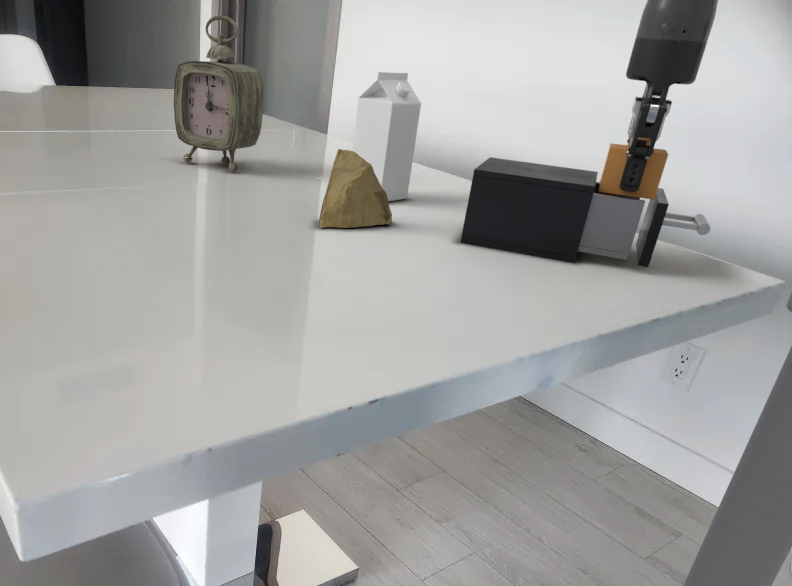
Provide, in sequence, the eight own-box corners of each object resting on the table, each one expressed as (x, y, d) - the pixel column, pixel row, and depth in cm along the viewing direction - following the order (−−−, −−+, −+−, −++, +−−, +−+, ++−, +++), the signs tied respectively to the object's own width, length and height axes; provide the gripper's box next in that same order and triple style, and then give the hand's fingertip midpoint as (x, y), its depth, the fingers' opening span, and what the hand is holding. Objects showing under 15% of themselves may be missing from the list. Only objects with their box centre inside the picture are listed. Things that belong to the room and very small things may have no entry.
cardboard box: (652, 193, 87) (666, 149, 84) (654, 199, 83) (668, 154, 80) (598, 186, 89) (610, 143, 86) (598, 191, 85) (610, 147, 82)
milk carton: (347, 194, 112) (360, 70, 104) (375, 190, 117) (390, 71, 108) (379, 203, 108) (396, 74, 99) (407, 199, 112) (425, 75, 104)
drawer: (689, 253, 91) (710, 195, 87) (697, 276, 81) (721, 211, 78) (543, 229, 97) (556, 173, 93) (535, 247, 87) (550, 186, 84)
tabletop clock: (173, 162, 126) (173, 11, 115) (205, 157, 133) (207, 15, 122) (234, 175, 120) (240, 16, 108) (264, 169, 126) (272, 20, 115)
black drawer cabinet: (579, 240, 96) (597, 171, 92) (574, 263, 86) (595, 186, 81) (476, 223, 101) (489, 157, 96) (460, 242, 90) (474, 169, 86)
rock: (398, 202, 99) (333, 185, 100) (409, 161, 91) (338, 142, 92) (380, 261, 94) (312, 242, 95) (391, 222, 86) (316, 202, 87)
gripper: (715, 38, 71) (663, 202, 78) (701, 41, 82) (657, 182, 90) (637, 33, 73) (594, 192, 81) (635, 36, 85) (597, 175, 93)
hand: (627, 186), depth 85 cm, fingers closed on cardboard box, 4 cm apart
